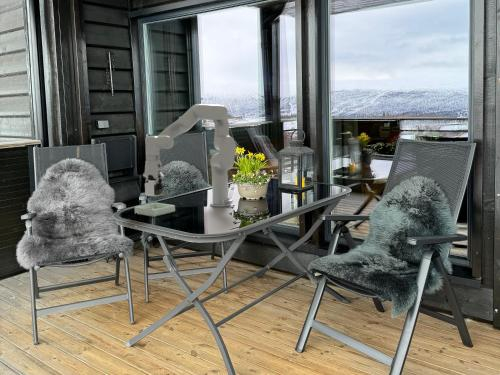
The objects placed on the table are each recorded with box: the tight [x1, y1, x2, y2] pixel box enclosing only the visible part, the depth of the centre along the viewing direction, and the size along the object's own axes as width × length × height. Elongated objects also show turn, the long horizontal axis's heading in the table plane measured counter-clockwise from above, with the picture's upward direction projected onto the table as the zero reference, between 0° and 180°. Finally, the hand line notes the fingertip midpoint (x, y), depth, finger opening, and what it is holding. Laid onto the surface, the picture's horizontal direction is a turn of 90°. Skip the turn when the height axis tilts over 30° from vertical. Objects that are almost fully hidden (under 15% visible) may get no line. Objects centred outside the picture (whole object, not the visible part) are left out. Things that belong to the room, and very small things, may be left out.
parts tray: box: [134, 202, 176, 217], centre depth 294 cm, size 16×16×4 cm
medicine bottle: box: [144, 175, 164, 197], centre depth 292 cm, size 7×7×12 cm
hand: (153, 189), depth 292 cm, fingers closed on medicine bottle, 7 cm apart
